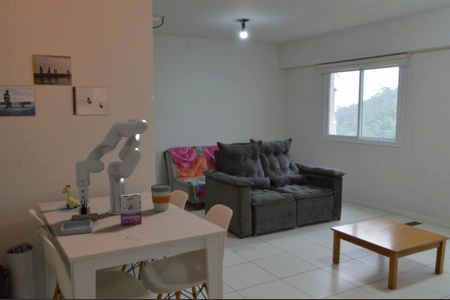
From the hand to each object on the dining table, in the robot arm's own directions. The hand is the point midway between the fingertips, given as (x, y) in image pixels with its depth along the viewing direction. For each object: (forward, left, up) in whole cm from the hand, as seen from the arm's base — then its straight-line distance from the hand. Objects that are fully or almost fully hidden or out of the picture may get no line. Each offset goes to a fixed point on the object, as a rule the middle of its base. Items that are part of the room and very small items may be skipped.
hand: (84, 212), depth 218 cm
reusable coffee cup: (-45, -9, -5) cm, 46 cm away
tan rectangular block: (0, 0, -4) cm, 4 cm away
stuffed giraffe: (+10, -29, -5) cm, 31 cm away
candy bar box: (-25, +16, -5) cm, 30 cm away
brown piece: (0, 0, -4) cm, 4 cm away
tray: (+3, +18, -4) cm, 19 cm away
